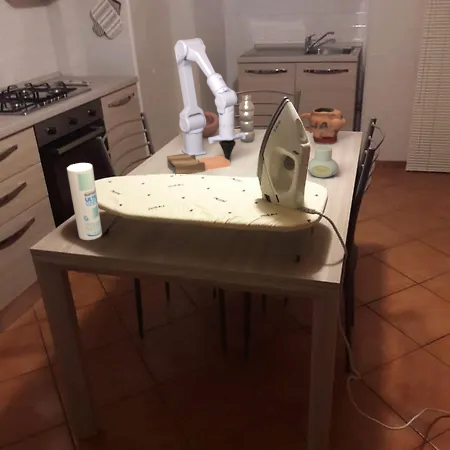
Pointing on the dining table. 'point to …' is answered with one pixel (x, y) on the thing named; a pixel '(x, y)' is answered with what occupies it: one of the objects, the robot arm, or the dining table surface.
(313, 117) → the decorative planter
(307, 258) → the dining table surface
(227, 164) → the tile
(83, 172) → the spray can
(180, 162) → the cubby
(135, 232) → the dining table surface
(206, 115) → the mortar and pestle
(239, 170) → the dining table surface
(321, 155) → the air freshener
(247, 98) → the plastic bottle
